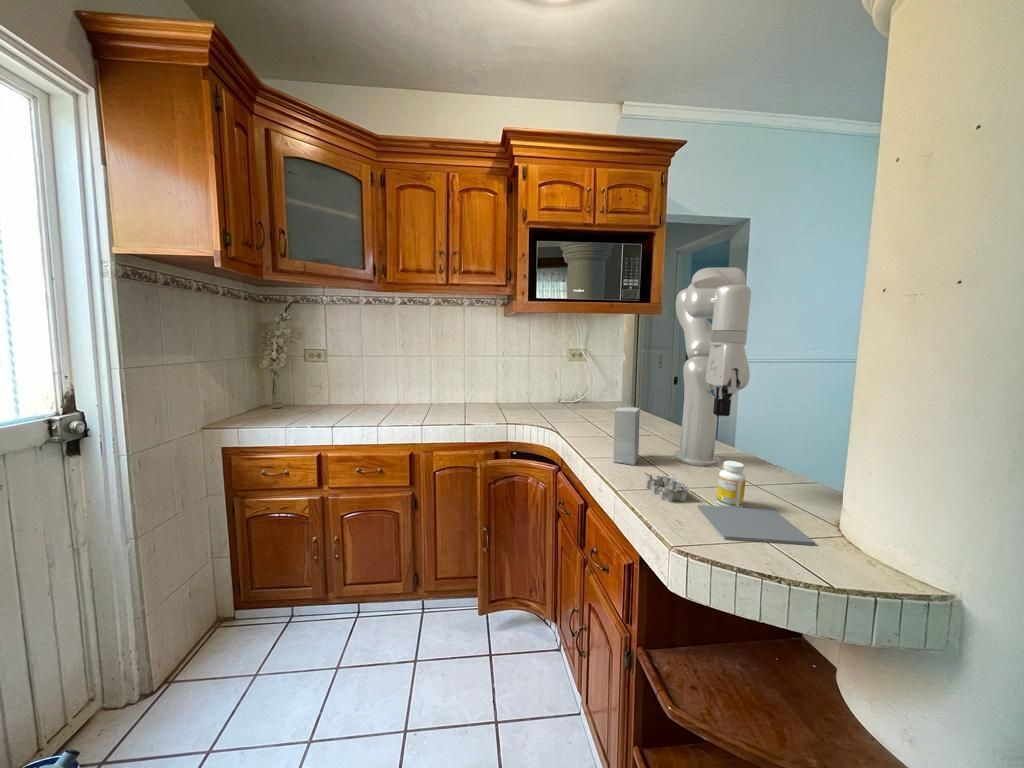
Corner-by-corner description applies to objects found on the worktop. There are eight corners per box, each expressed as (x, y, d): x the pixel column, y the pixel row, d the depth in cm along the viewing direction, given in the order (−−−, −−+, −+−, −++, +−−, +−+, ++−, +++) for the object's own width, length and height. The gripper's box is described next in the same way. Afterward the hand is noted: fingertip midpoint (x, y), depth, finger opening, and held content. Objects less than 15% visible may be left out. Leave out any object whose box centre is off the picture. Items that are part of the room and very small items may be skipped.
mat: (697, 507, 91) (698, 504, 91) (773, 512, 90) (773, 509, 90) (724, 539, 77) (725, 536, 77) (814, 545, 76) (815, 542, 76)
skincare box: (635, 466, 118) (638, 412, 116) (610, 462, 121) (613, 409, 119) (639, 458, 126) (642, 407, 124) (615, 454, 129) (618, 405, 127)
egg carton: (641, 486, 104) (642, 471, 103) (669, 485, 104) (670, 470, 104) (661, 503, 93) (662, 486, 93) (691, 502, 94) (693, 485, 94)
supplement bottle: (725, 509, 90) (729, 467, 89) (711, 499, 96) (715, 459, 94) (748, 509, 91) (752, 467, 90) (733, 499, 96) (737, 459, 95)
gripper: (700, 338, 105) (694, 409, 107) (725, 338, 90) (717, 420, 92) (730, 339, 104) (724, 410, 106) (761, 339, 90) (752, 422, 92)
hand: (721, 415), depth 99 cm, fingers closed
